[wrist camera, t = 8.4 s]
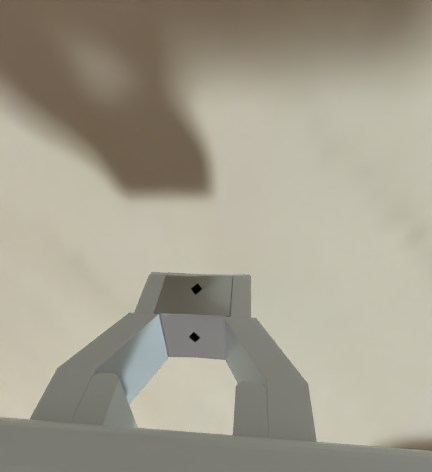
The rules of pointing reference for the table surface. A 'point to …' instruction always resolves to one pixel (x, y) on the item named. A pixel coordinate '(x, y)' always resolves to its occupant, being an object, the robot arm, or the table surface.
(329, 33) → the table surface
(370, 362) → the table surface
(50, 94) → the table surface
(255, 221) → the table surface
